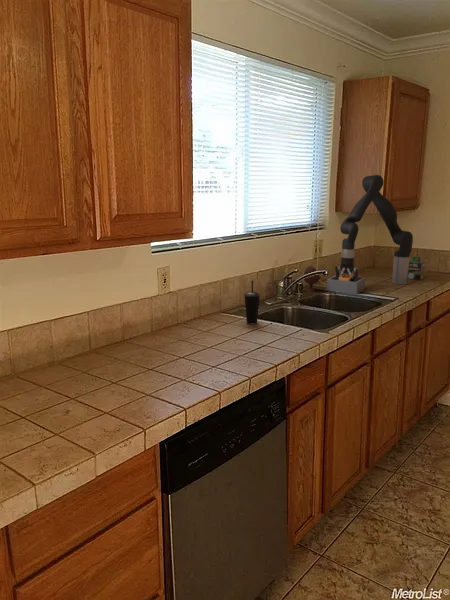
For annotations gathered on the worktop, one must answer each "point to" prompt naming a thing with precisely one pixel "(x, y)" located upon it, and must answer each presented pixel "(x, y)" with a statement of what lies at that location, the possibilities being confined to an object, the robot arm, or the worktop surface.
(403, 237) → the robot arm
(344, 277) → the orange crate
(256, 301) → the drinking cup
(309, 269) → the ice cream bowl
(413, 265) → the chalk box
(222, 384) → the worktop surface
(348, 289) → the charcoal crate
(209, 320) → the worktop surface
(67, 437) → the worktop surface
